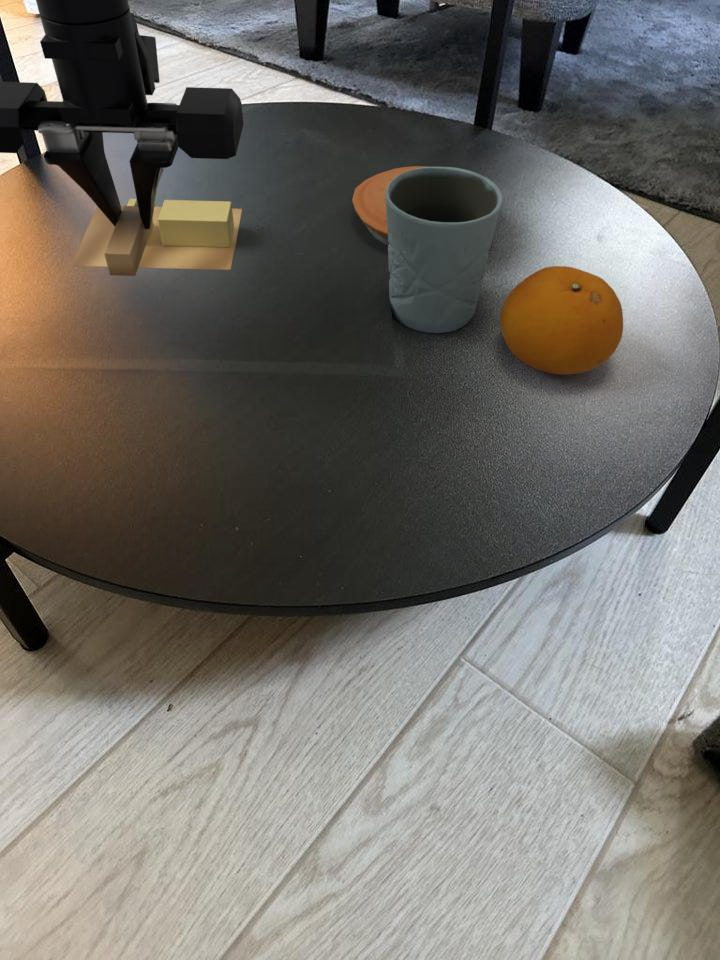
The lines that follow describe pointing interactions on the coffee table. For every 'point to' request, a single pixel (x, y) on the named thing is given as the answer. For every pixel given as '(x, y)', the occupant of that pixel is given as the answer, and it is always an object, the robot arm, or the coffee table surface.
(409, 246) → the green ceramic cup
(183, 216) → the butter stick
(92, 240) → the cutting board
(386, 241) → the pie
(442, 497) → the coffee table surface
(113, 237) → the chisel
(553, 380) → the coffee table surface
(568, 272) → the fruit
